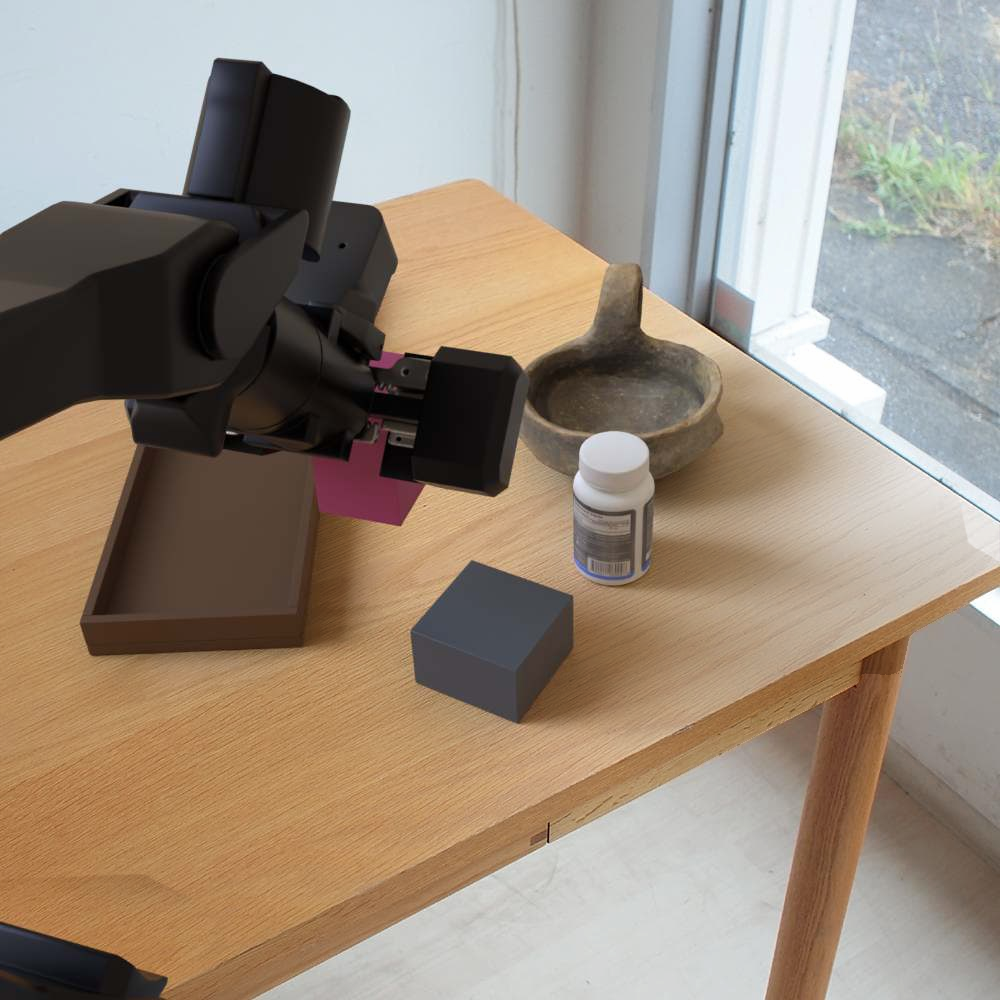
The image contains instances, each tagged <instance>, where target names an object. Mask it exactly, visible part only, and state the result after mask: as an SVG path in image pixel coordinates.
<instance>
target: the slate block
mask: <svg viewBox="0 0 1000 1000" xmlns="http://www.w3.org/2000/svg"><path fill="white" fill-rule="evenodd" d="M409 633H410V643H411V644H410V645H411V653H412V663H413V672H414V681H415V683H416V684H419V685H421V686H423V687H426V688H428V689H431V690H433V691H435V692H438V693H441V694H442V695H443V694H444V695H446V696H448V697H451V698H453V699H456V700H458V701H461V702H463V703H466V704H467V705H471V706H473V707H475V708H478V709H480V710H482V711H485V712H488V713H489V714H493V715H495V716H498V717H500V718H503V719H505V720H508V721H509V722H510V721H511V722H512V723H515V724H519V723H520V722H521V720H522V719H523V718H524V716H525V715H526V713H527V712H528V711H529V710H530V708H531V706H532V705H533V704H534V702H536V699H538V697H539V696H540V694H541V693H542V691H543V690H544V689H545V687H546V686H547V684H548V683H549V682H550V681H551V679H552V678H553V677H554V675H555V674H556V672H557V671H558V670H559V668H560V667H561V665H562V664H563V662H565V660H566V658H567V657H568V656H569V654H570V653H571V652H572V650H573V649H574V594H573V595H572V594H570V593H567V592H564V591H561V590H558V589H556V588H553V587H550V586H547V585H544V584H541V583H539V582H537V581H536V582H535V581H532V580H530V579H527V578H524V577H521V576H519V575H515V574H513V573H509V572H507V571H504V570H501V569H499V568H496V567H493V566H491V565H487V564H485V563H482V562H480V561H479V562H478V561H476V560H474V559H471V560H470V561H469V562H468V563H467V565H466V566H465V567H464V568H463V569H462V570H461V571H460V572H459V574H458V575H457V576H456V577H455V578H454V579H453V581H452V582H451V583H449V585H448V586H447V587H446V589H445V590H444V591H443V592H442V593H441V594H440V595H439V596H438V598H437V599H436V600H435V601H434V602H433V603H432V605H431V606H430V607H429V608H428V609H427V610H426V611H425V613H424V614H423V615H422V616H421V617H420V619H419V620H418V621H417V622H416V623H415V624H414V625H413V626H412V628H411V629H410V630H409Z"/></svg>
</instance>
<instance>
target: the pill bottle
mask: <svg viewBox="0 0 1000 1000" xmlns="http://www.w3.org/2000/svg"><path fill="white" fill-rule="evenodd" d="M655 490H656V489H655V480H653V477H652V475H651V473H650V472H649V449H648V447H647V445H646V444H645V442H644V441H643V440H641V439H640V438H638V437H637V436H635V435H632V434H629V433H626V432H619V431H609V432H603V433H598V434H596V435H593V436H591V437H590V438H588V439H587V440H586V441H585V442H584V443H583V444H582V446H581V448H580V453H579V471H578V472H577V474H576V476H575V478H574V477H573V482H572V500H573V504H572V506H573V512H572V514H573V515H572V517H573V520H572V521H573V522H572V525H573V530H572V532H573V533H572V534H573V562H574V566H575V568H576V570H577V571H578V572H579V573H580V574H581V575H582V576H583V577H585V578H586V579H587V580H589V581H591V582H593V583H596V584H598V585H604V586H621V585H626V584H630V583H632V582H635V581H636V580H639V579H640V578H641V577H643V576H644V575H645V574H646V573H647V572H648V571H649V569H650V567H651V564H652V556H653V555H652V554H653V532H654V516H655V515H654V513H655V511H654V510H655V509H654V508H655Z"/></svg>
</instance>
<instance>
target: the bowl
mask: <svg viewBox="0 0 1000 1000" xmlns="http://www.w3.org/2000/svg"><path fill="white" fill-rule="evenodd" d="M602 279H603V280H602V284H601V287H600V291H599V292H600V293H599V296H598V297H599V298H598V303H597V308H596V311H595V315H594V318H593V322H592V324H591V326H590V327H589V329H588V331H587V332H586V333H584V334H583V335H582V336H579V337H576V338H574V339H573V338H572V339H571V340H568V341H566V342H564V343H562V344H560V345H558V346H556V347H555V348H553V349H551V350H549V351H547V352H545V353H543V354H541V355H539V356H538V357H536V358H534V359H533V360H532V361H531V362H529V363H528V364H527V365H526V366H525V367H524V368H523V370H524V371H525V373H526V374H527V375H528V377H529V378H530V382H529V387H528V392H527V397H526V402H525V407H524V412H523V417H522V422H521V427H520V432H519V437H518V439H520V440H521V442H522V443H523V444H524V446H525V447H526V448H527V450H528V451H529V452H530V453H531V454H532V455H533V456H534V458H536V459H537V460H538V461H539V462H540V463H541V464H542V465H544V466H546V467H547V468H550V469H551V470H554V471H555V472H558V473H560V474H562V475H565V476H568V477H571V478H573V479H574V478H575V476H576V474H577V472H578V471H579V453H580V448H581V446H582V444H583V443H584V442H585V441H586V440H587V439H588V438H590V437H591V436H593V435H596V434H598V433H603V432H609V431H619V432H626V433H629V434H632V435H635V436H637V437H638V438H640V439H641V440H643V441H644V442H645V444H646V445H647V447H648V449H649V472H650V473H651V475H652V477H653V480H654V481H655V480H659V479H661V478H663V477H666V476H669V475H670V474H673V473H676V472H677V471H679V470H682V469H683V468H685V467H687V466H689V465H691V464H692V463H693V462H695V461H697V460H698V459H700V458H701V457H702V456H703V455H705V454H706V453H707V452H708V451H709V450H710V449H712V447H713V446H714V445H715V444H716V443H718V441H719V440H720V438H721V437H722V436H723V434H724V431H725V425H724V423H723V421H722V420H721V417H720V415H719V414H718V409H717V408H718V406H719V403H720V402H721V399H722V395H723V393H724V384H723V376H722V371H721V369H720V366H719V365H718V364H717V363H716V362H715V361H714V359H712V358H710V357H709V356H707V355H706V354H704V353H702V352H700V351H699V350H698V349H696V348H694V347H692V346H688V345H686V344H682V343H677V342H673V341H670V340H666V339H660V338H655V337H652V336H651V335H648V334H646V332H644V331H643V329H642V327H641V323H642V314H643V301H644V276H643V271H642V268H641V265H639V264H637V263H635V262H634V263H632V262H616V263H614V262H613V263H611V264H609V265H608V267H607V268H606V269H605V272H604V276H603V278H602Z"/></svg>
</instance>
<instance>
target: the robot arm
mask: <svg viewBox="0 0 1000 1000" xmlns="http://www.w3.org/2000/svg"><path fill="white" fill-rule="evenodd" d="M201 105H202V106H201V109H200V113H199V118H198V123H197V127H196V132H195V136H194V139H193V144H192V149H191V154H190V157H189V162H188V167H187V170H186V175H185V180H184V184H183V188H182V189H183V190H182V193H181V194H173V193H168V192H167V193H166V192H157V191H149V190H141V189H134V188H133V189H132V188H123V187H119V188H118V189H115V190H114V191H112V192H111V193H108V194H107V195H104V196H103V197H101V198H98V199H97V200H95V201H93V202H82V201H76V200H75V201H72V200H61V201H57V202H56V203H53V204H51V205H49V206H47V207H46V208H44V209H42V210H40V211H39V212H37V213H35V214H33V215H31V216H29V217H28V218H26V219H24V220H23V221H20V222H18V223H16V224H15V225H13V226H11V227H9V228H7V229H6V230H4V231H2V232H1V233H0V442H1V441H3V440H6V439H8V438H10V437H12V436H13V435H16V434H18V433H20V432H22V431H24V430H26V429H28V428H30V427H33V426H35V425H36V424H39V423H41V422H43V421H45V420H47V419H49V418H51V417H53V416H55V415H57V414H60V413H61V412H63V411H66V410H68V409H70V408H71V407H74V406H78V405H82V404H87V403H92V402H97V401H118V400H119V401H120V400H121V401H122V400H123V401H124V402H123V406H124V410H125V415H126V418H127V420H128V423H129V425H130V430H131V437H132V441H133V443H134V444H135V445H136V446H137V445H141V446H147V447H153V448H158V449H164V450H170V451H176V452H181V453H187V454H193V455H199V456H204V457H210V458H216V457H218V456H219V455H220V454H221V452H222V449H225V450H231V451H237V452H242V453H248V454H254V455H259V456H265V455H269V454H273V453H277V452H280V451H286V452H292V453H298V454H304V455H309V456H315V457H321V458H327V459H332V460H338V461H344V462H349V459H350V454H351V449H352V445H353V441H356V442H362V443H368V444H374V443H376V442H377V440H378V435H379V431H380V428H379V423H377V422H374V424H373V425H372V426H371V422H370V421H367V420H368V418H369V417H371V418H377V419H382V424H381V429H382V430H384V431H385V432H388V434H387V439H386V443H385V448H384V453H383V458H382V462H381V467H380V472H379V476H380V477H385V478H390V479H396V480H402V481H408V482H413V483H419V484H425V486H431V487H434V488H438V489H443V490H449V491H455V492H461V493H466V494H472V495H477V496H483V497H489V498H496V497H497V496H499V495H500V494H501V493H503V492H504V491H506V490H507V489H509V486H510V481H511V476H512V471H513V466H514V461H515V456H516V452H517V446H518V442H519V432H520V427H521V422H522V417H523V412H524V407H525V402H526V397H527V392H528V387H529V382H530V378H529V377H528V375H527V374H526V373H525V371H524V368H523V367H522V365H521V364H520V363H519V362H518V361H517V360H516V359H515V358H514V357H513V356H512V355H509V354H508V355H506V354H500V353H493V352H486V351H479V350H472V349H466V348H465V349H464V348H459V347H458V348H457V347H452V346H444V345H440V346H439V348H438V349H437V351H436V352H435V354H434V355H426V354H420V353H414V352H407V351H405V352H404V353H403V354H404V357H403V358H400V359H399V360H397V361H396V362H395V364H394V365H393V366H392V367H391V368H389V369H386V368H379V367H373V366H369V364H370V360H373V361H380V360H381V356H382V351H384V347H385V346H384V345H385V341H386V336H387V333H385V332H383V331H382V330H380V329H379V328H378V327H377V326H376V325H375V322H376V318H377V315H378V313H379V312H380V309H381V306H382V304H383V301H384V298H385V295H386V293H387V289H388V287H389V286H390V285H389V284H390V281H391V280H392V276H393V275H394V274H396V272H397V268H398V265H399V258H398V255H397V253H396V250H395V246H394V244H393V241H392V238H391V236H390V234H389V233H390V232H389V230H388V227H387V224H386V222H385V219H384V216H383V214H382V212H381V211H380V209H378V208H377V207H376V206H374V205H371V204H366V203H358V202H348V201H339V200H334V196H335V190H336V186H337V181H338V176H339V172H340V167H341V163H342V158H343V153H344V149H345V143H346V141H347V135H348V130H349V126H350V120H351V113H352V110H351V108H350V107H349V105H348V103H347V102H346V101H345V100H344V99H343V98H342V97H341V96H339V95H336V94H330V93H327V92H325V91H323V90H321V89H319V88H318V87H315V86H313V85H310V84H308V83H306V82H303V81H300V80H298V79H295V78H292V77H288V76H285V75H281V74H278V73H274V72H273V71H272V70H271V69H270V68H268V66H267V65H266V64H265V63H264V62H263V61H260V60H249V59H237V58H226V57H216V58H214V59H213V62H212V66H211V71H210V76H208V80H207V83H206V87H205V91H204V96H203V100H202V104H201ZM377 385H378V389H379V390H380V391H383V390H384V388H385V386H386V391H388V394H386V393H380V392H375V388H376V387H377ZM393 387H396V388H397V390H394V389H393ZM168 982H169V978H168V976H165V975H162V974H159V973H154V972H151V971H148V970H144V969H141V968H137V967H136V966H135V965H134V964H133V963H131V962H130V961H128V960H127V959H125V958H123V957H122V956H121V955H118V954H115V953H113V952H109V951H105V950H102V949H99V948H95V947H91V946H87V945H85V944H82V943H78V942H74V941H71V940H68V939H64V938H59V937H57V936H53V935H50V934H47V933H43V932H39V931H36V930H32V929H29V928H26V927H23V926H19V925H15V924H13V923H12V924H11V923H8V922H4V921H1V920H0V1000H167V999H166V998H165V997H162V996H161V994H162V993H163V991H164V990H165V988H166V987H167V985H168Z"/></svg>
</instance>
